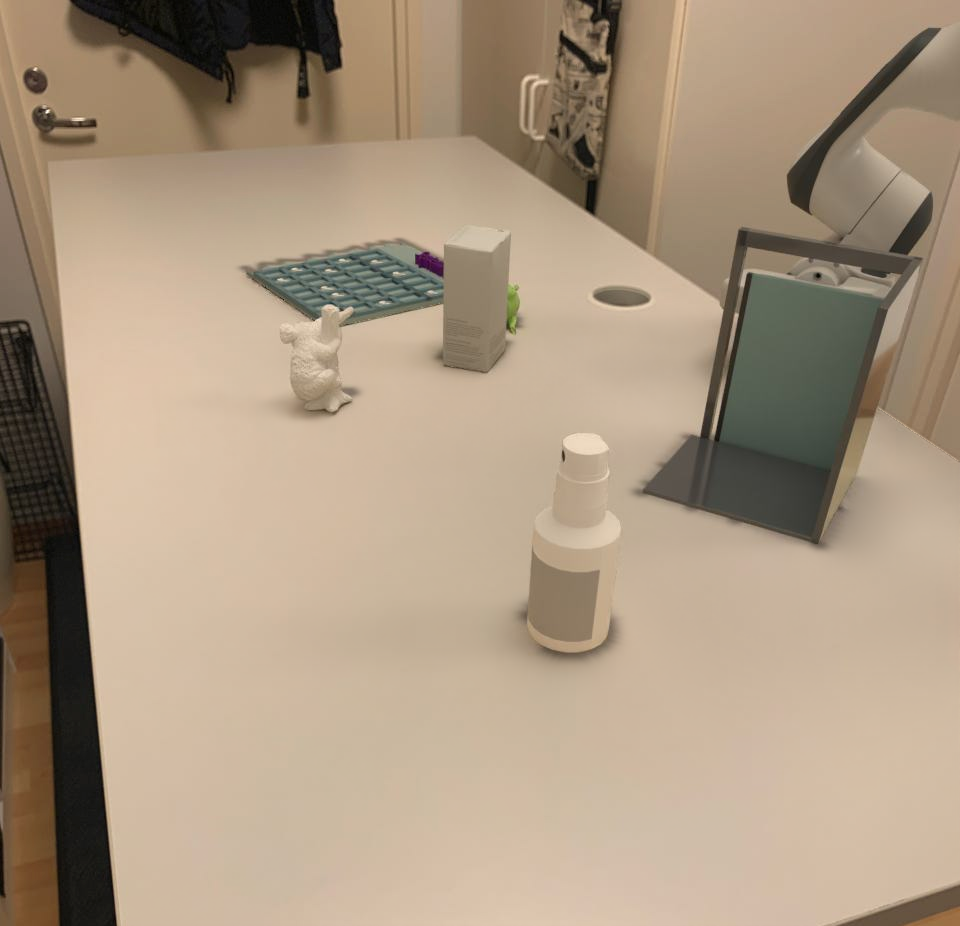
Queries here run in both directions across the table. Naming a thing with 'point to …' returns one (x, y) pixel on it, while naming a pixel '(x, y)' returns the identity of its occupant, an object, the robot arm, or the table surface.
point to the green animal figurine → (512, 306)
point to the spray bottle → (575, 552)
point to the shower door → (794, 368)
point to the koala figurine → (317, 359)
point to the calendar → (359, 282)
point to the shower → (768, 479)
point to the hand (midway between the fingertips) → (788, 323)
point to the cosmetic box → (475, 297)
